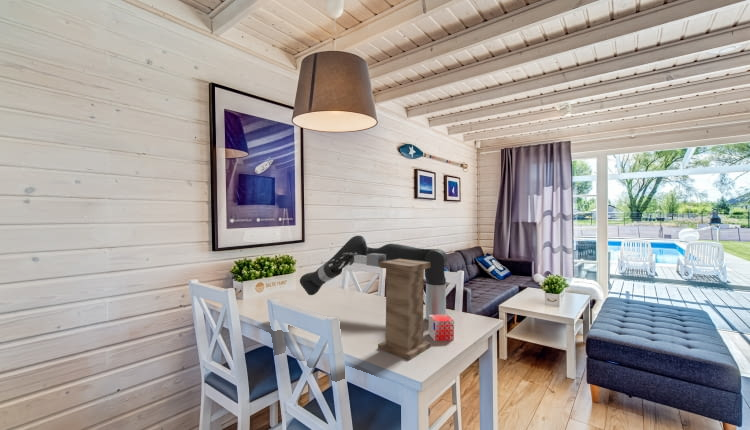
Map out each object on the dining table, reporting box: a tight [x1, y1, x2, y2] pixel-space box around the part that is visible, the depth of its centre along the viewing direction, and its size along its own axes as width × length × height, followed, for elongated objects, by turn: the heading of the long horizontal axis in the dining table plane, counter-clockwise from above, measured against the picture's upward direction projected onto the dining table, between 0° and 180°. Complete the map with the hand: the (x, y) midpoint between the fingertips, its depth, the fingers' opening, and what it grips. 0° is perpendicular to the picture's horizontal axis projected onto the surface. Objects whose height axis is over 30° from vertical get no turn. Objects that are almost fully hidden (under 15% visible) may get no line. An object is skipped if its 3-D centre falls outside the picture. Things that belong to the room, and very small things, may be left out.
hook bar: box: [342, 253, 386, 268], centre depth 133 cm, size 5×21×4 cm, turn 50°
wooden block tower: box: [377, 259, 431, 360], centre depth 119 cm, size 14×14×32 cm
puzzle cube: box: [428, 313, 455, 342], centre depth 131 cm, size 8×8×8 cm
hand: (353, 255), depth 136 cm, fingers closed on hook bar, 3 cm apart
